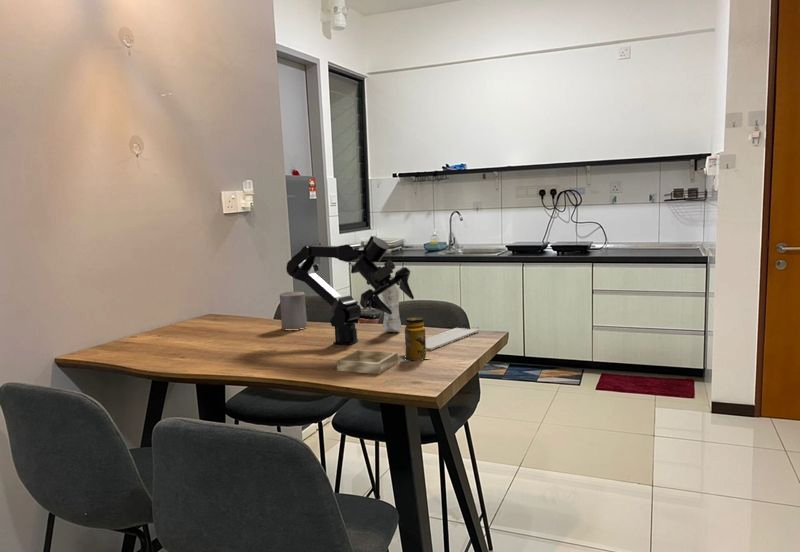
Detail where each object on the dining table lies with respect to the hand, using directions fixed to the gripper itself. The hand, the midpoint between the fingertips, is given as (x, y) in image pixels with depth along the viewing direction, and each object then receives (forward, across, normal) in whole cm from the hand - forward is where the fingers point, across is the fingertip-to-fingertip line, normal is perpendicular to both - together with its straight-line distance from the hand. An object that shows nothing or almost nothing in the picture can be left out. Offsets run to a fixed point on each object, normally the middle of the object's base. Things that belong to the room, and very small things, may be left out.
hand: (402, 306), depth 186 cm
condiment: (+16, -10, 0) cm, 18 cm away
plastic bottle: (-5, +5, +30) cm, 31 cm away
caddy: (+11, -23, -4) cm, 26 cm away
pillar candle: (-35, -17, +48) cm, 61 cm away
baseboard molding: (+12, +10, +17) cm, 23 cm away
